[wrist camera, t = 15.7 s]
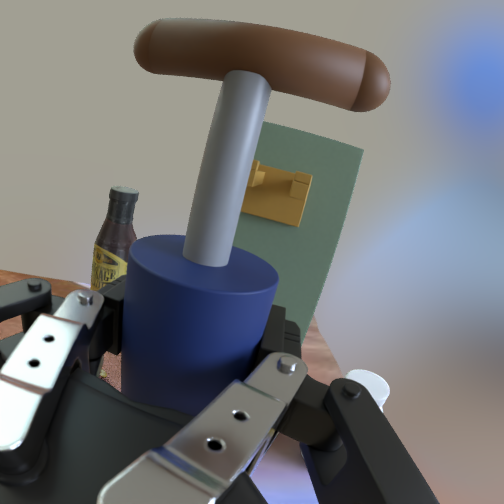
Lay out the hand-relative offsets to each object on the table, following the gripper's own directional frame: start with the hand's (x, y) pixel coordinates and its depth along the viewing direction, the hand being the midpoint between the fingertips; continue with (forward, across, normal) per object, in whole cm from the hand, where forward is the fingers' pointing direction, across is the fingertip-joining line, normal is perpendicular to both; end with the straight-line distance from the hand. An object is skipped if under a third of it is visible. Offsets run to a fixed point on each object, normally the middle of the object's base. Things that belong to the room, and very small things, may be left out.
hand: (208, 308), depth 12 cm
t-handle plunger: (-3, 0, +12) cm, 12 cm away
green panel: (+12, -1, +20) cm, 24 cm away
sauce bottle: (+25, +20, +20) cm, 38 cm away
